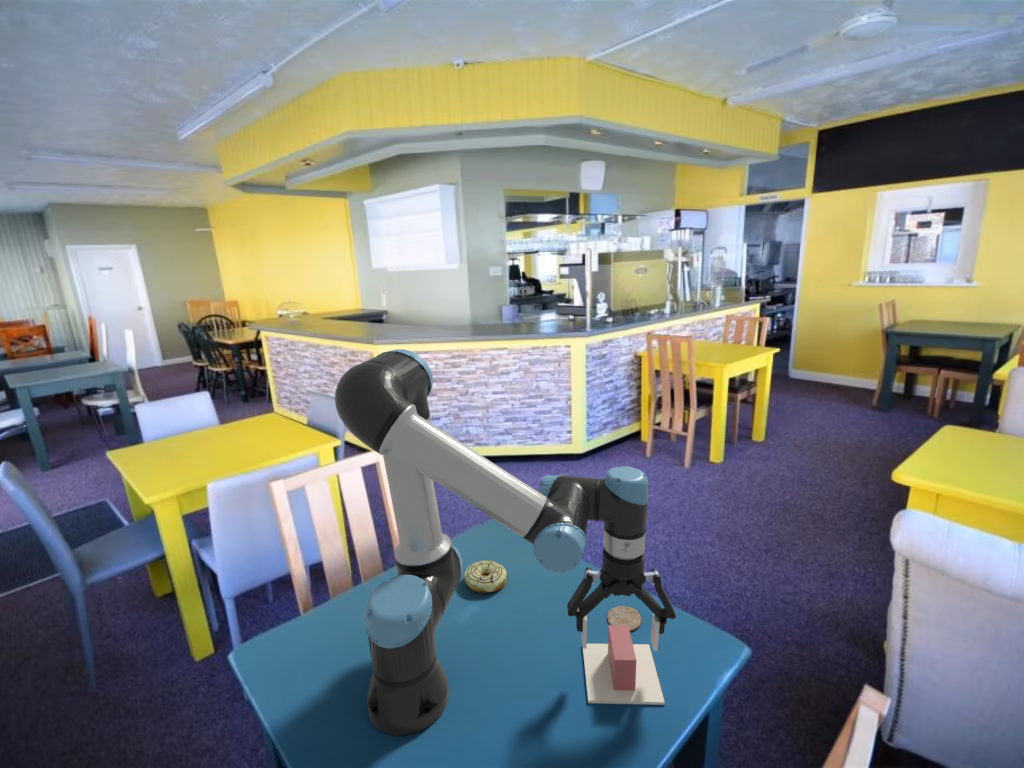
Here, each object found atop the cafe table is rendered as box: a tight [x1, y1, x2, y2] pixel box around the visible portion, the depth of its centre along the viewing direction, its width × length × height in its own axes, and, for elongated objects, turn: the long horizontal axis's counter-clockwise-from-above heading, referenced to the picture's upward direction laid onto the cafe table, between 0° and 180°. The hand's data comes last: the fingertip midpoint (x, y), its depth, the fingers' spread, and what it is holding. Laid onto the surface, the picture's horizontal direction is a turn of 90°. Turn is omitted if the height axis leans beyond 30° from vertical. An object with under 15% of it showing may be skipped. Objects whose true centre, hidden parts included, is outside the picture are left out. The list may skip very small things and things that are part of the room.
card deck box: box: [607, 624, 636, 690], centre depth 99 cm, size 9×4×7 cm, turn 177°
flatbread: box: [606, 605, 642, 632], centre depth 114 cm, size 8×8×1 cm
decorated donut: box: [463, 560, 507, 594], centre depth 129 cm, size 10×11×4 cm
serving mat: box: [582, 643, 665, 706], centre depth 100 cm, size 14×14×1 cm
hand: (618, 644), depth 99 cm, fingers open, 13 cm apart
